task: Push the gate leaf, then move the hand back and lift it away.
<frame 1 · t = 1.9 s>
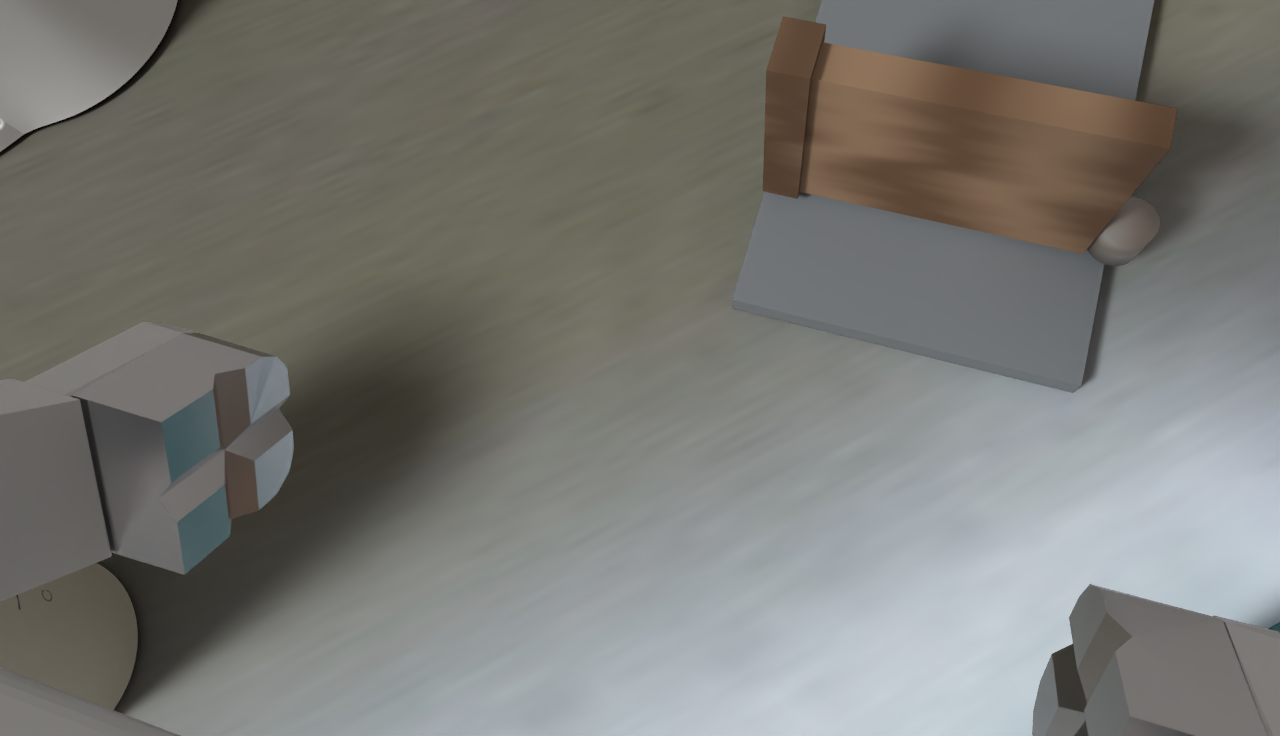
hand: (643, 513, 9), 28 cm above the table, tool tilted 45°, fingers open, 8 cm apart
gate leaf: (970, 153, 34), point 6 cm above the table, hinge at 0.0°
travel mug: (56, 654, 38), on the table
grey plate: (952, 121, 40), on the table
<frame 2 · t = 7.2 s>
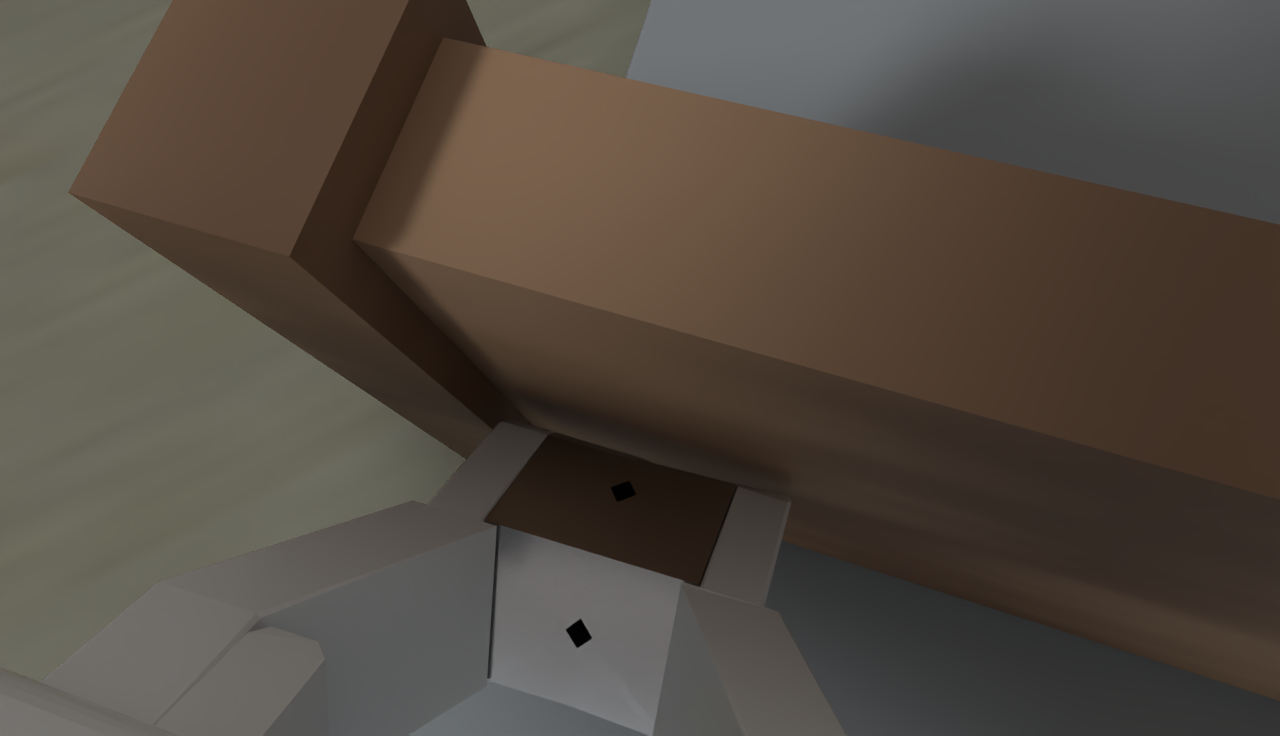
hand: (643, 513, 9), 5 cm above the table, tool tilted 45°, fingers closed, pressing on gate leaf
gate leaf: (1152, 511, 8), point 6 cm above the table, hinge at 2.5°, touching gripper
grey plate: (1013, 274, 15), on the table
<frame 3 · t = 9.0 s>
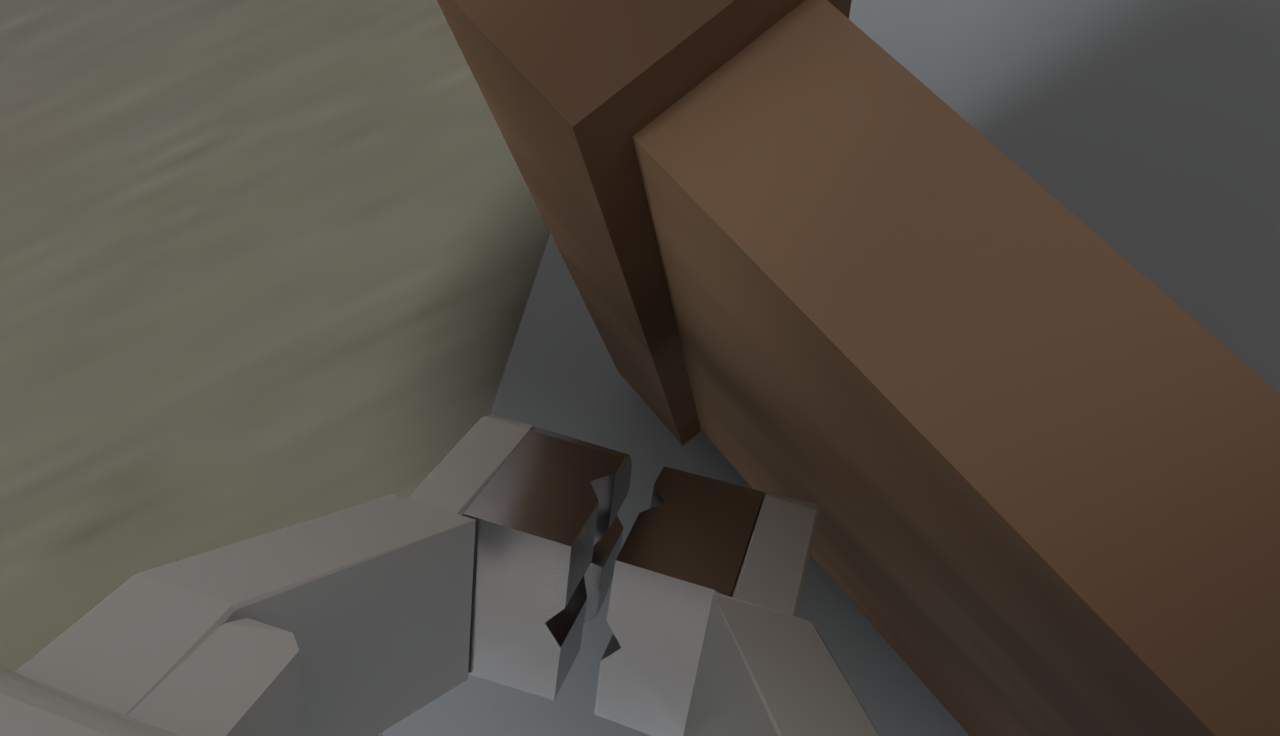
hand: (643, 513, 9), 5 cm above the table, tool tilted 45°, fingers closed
grey plate: (922, 609, 14), on the table
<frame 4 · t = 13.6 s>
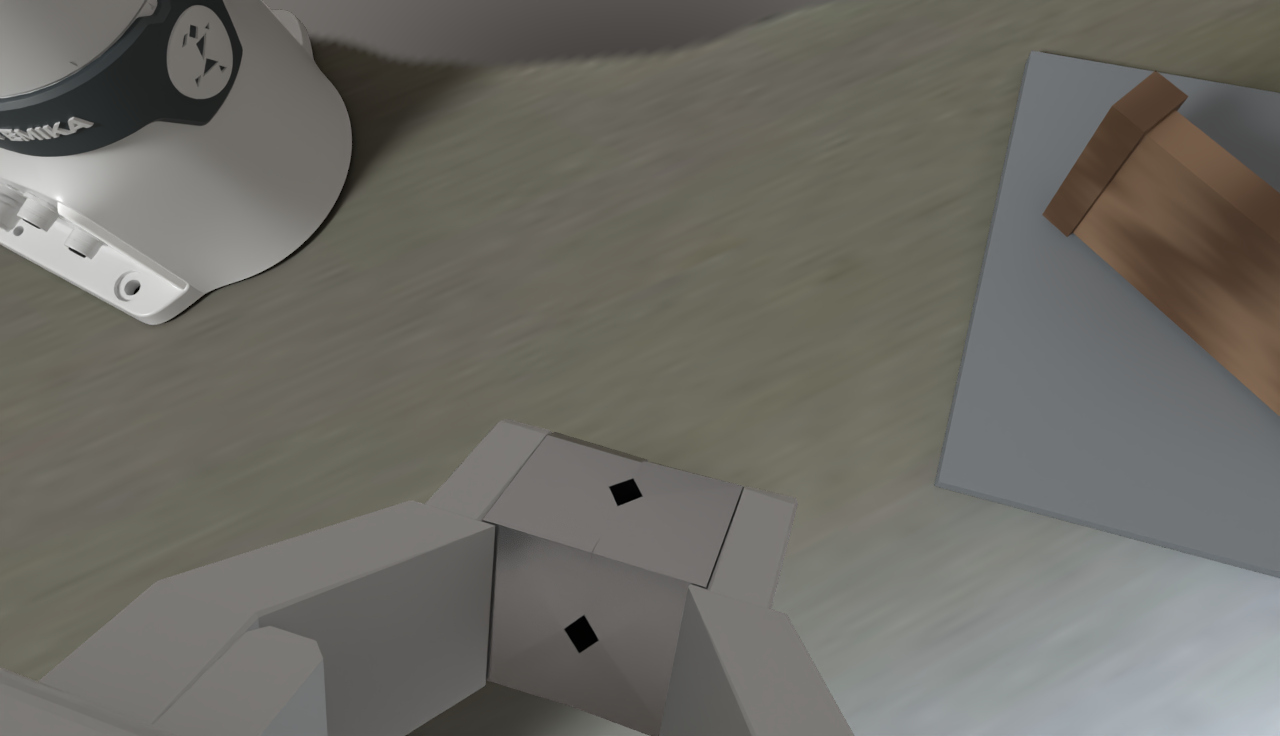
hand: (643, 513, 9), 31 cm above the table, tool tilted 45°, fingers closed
gate leaf: (1243, 277, 35), point 6 cm above the table, hinge at 34.7°
grey plate: (1142, 294, 41), on the table
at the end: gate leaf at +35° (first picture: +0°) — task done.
